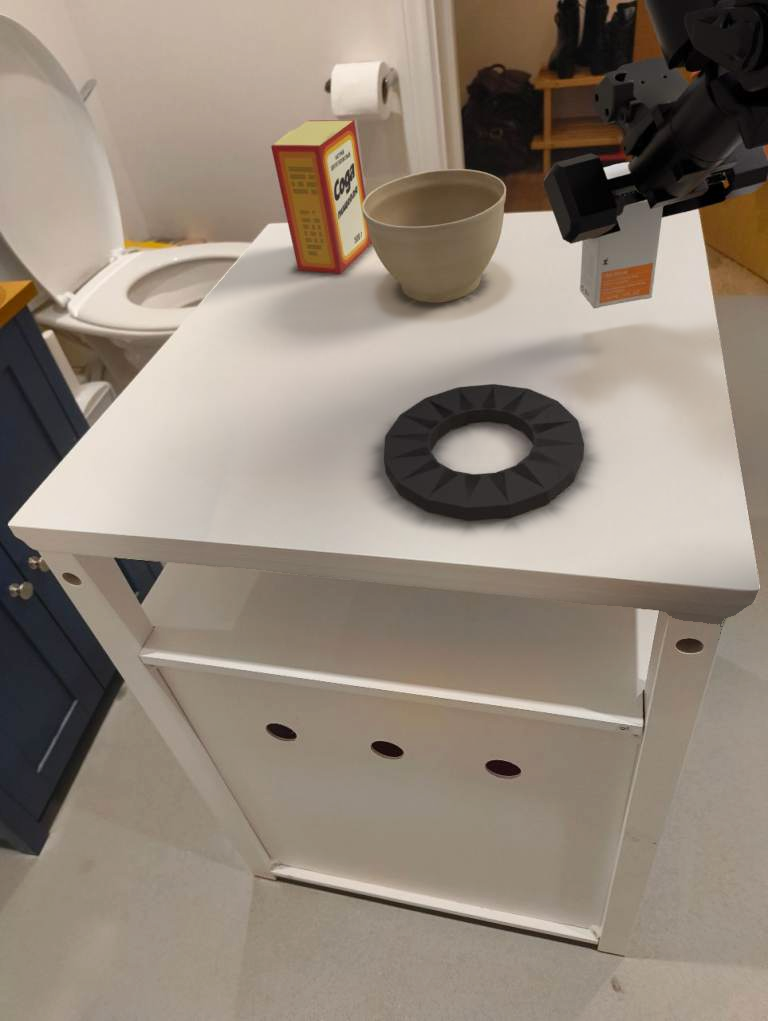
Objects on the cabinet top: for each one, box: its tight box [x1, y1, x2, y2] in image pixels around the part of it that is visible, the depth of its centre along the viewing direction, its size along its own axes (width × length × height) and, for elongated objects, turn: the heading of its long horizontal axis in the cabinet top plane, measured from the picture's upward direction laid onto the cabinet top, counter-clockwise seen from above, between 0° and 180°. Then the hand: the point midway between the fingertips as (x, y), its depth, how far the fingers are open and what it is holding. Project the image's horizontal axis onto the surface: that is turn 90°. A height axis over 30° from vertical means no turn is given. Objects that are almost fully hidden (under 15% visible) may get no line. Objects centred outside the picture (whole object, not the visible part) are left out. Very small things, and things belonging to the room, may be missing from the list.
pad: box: [383, 383, 585, 522], centre depth 65 cm, size 17×17×2 cm
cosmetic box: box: [579, 161, 663, 309], centre depth 69 cm, size 6×4×12 cm
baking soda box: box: [270, 119, 372, 275], centre depth 95 cm, size 10×6×16 cm
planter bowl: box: [362, 168, 507, 303], centre depth 86 cm, size 16×16×11 cm
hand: (613, 225), depth 70 cm, fingers closed on cosmetic box, 6 cm apart
